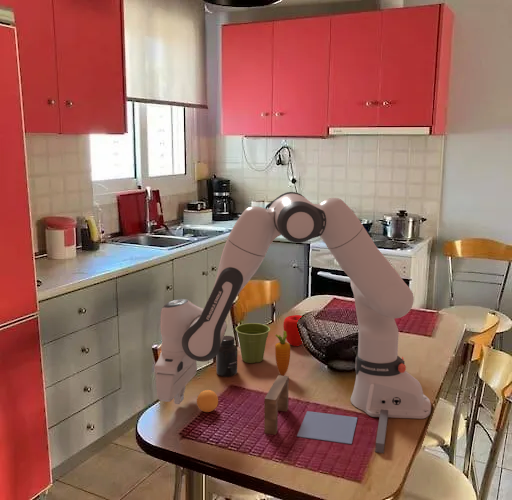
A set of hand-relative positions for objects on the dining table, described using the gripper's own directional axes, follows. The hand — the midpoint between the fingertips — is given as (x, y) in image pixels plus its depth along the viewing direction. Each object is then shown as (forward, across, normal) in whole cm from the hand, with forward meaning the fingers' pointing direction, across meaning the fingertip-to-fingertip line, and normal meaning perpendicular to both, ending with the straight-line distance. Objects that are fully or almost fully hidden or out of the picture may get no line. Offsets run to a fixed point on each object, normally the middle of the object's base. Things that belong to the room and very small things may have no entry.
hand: (179, 401), depth 165 cm
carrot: (+2, -28, +24) cm, 37 cm away
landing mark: (+2, 0, +43) cm, 43 cm away
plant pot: (+2, -39, +11) cm, 40 cm away
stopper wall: (+2, 0, +57) cm, 57 cm away
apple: (+2, -57, +22) cm, 61 cm away
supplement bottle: (+2, -26, +6) cm, 27 cm away
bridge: (+2, 0, +29) cm, 29 cm away
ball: (-2, 0, +9) cm, 9 cm away
